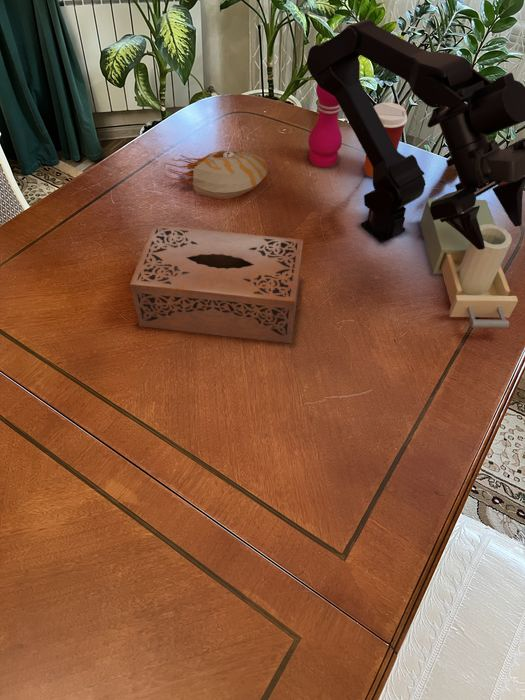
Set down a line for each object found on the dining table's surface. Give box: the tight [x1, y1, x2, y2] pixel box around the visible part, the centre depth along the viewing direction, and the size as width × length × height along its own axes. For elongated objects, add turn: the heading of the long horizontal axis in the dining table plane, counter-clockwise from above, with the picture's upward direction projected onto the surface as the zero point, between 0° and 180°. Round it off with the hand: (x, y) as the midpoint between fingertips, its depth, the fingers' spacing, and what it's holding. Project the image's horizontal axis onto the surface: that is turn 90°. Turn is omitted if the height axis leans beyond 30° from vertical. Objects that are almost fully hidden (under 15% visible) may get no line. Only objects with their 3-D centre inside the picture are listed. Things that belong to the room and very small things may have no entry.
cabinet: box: [419, 198, 496, 275], centre depth 108 cm, size 14×11×6 cm
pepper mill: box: [308, 83, 343, 168], centre depth 119 cm, size 7×7×20 cm
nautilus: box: [164, 150, 269, 200], centre depth 118 cm, size 8×22×15 cm
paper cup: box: [363, 101, 408, 179], centre depth 119 cm, size 8×8×14 cm
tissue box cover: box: [129, 223, 304, 344], centre depth 96 cm, size 26×14×10 cm, turn 83°
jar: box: [457, 224, 513, 295], centre depth 97 cm, size 6×6×11 cm
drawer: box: [440, 253, 519, 329], centre depth 99 cm, size 18×10×4 cm, turn 0°
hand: (500, 237), depth 92 cm, fingers open, 9 cm apart
